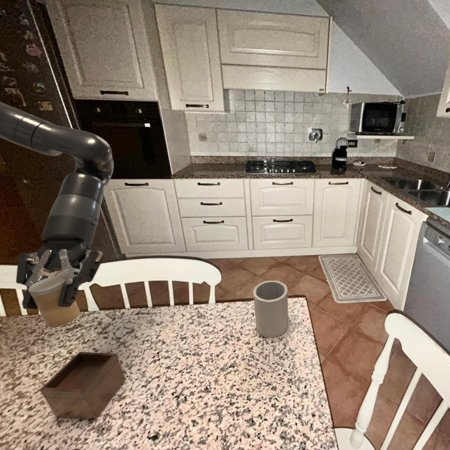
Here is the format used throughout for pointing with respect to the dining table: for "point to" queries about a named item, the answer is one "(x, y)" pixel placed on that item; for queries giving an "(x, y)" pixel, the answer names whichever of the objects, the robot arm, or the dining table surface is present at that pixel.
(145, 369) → the dining table surface
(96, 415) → the box
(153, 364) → the dining table surface
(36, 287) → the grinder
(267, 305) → the cup
